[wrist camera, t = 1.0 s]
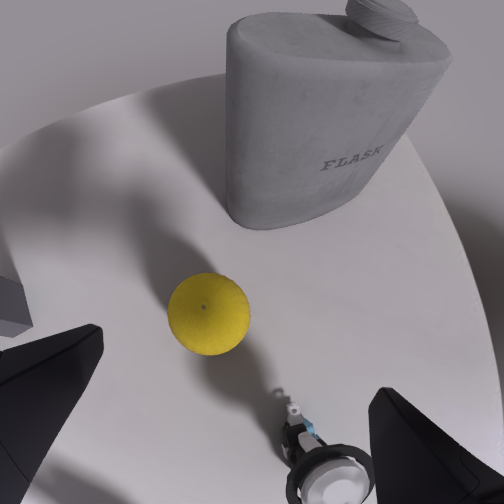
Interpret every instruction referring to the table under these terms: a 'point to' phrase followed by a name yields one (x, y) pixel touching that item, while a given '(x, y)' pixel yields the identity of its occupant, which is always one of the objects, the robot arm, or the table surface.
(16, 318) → the plug
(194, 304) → the lemon
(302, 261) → the table surface
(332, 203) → the flask
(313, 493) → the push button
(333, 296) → the table surface
